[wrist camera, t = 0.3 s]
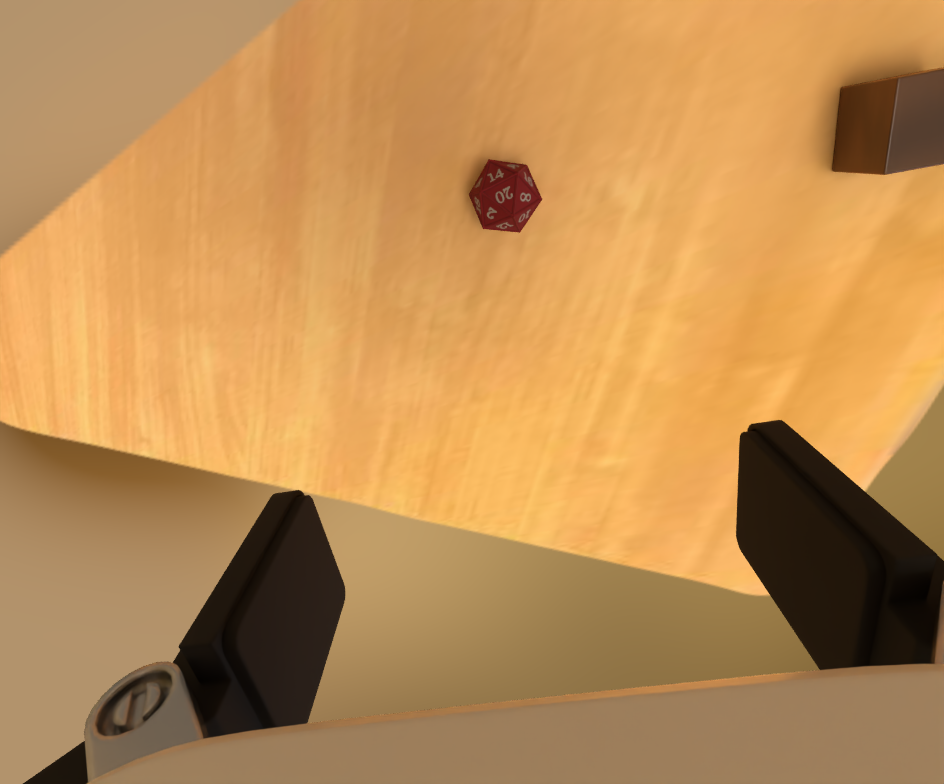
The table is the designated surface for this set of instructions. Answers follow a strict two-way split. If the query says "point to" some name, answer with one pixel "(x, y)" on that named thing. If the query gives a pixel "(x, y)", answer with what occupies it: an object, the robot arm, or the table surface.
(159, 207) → the table surface
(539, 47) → the table surface
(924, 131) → the walnut block
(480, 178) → the dice
